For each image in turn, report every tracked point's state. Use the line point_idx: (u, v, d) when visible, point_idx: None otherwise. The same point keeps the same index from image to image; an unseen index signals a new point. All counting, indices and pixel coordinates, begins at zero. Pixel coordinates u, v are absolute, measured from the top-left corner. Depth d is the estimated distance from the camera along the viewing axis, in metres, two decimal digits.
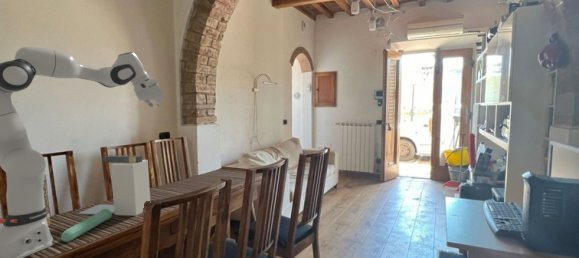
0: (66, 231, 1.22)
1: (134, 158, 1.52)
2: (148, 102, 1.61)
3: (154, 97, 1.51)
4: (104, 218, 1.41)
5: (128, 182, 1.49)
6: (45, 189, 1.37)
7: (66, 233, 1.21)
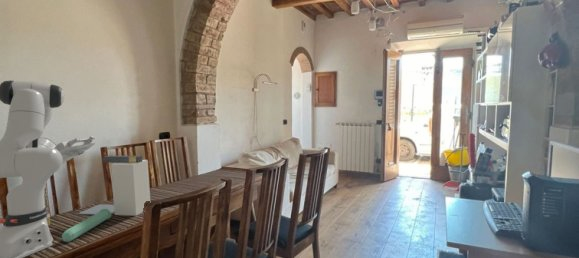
0: (67, 231, 1.22)
1: (134, 158, 1.52)
2: None
3: None
4: (104, 218, 1.41)
5: (128, 182, 1.49)
6: (45, 189, 1.37)
7: (67, 233, 1.21)
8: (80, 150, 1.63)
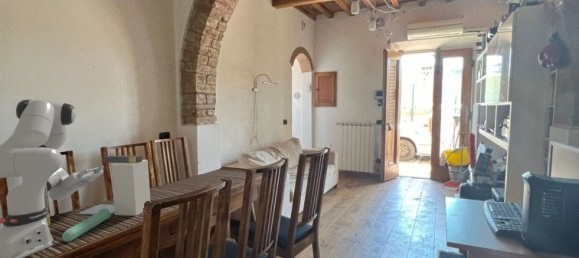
0: (67, 231, 1.22)
1: (134, 158, 1.52)
2: None
3: None
4: (103, 218, 1.41)
5: (128, 182, 1.49)
6: (45, 189, 1.37)
7: (67, 233, 1.21)
8: (89, 179, 1.64)
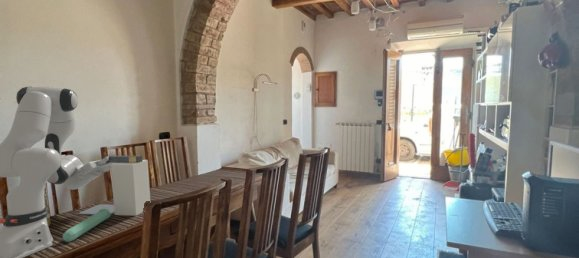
0: (68, 231, 1.22)
1: (134, 158, 1.52)
2: None
3: None
4: (103, 218, 1.41)
5: (128, 182, 1.49)
6: (45, 189, 1.37)
7: (68, 233, 1.21)
8: (105, 169, 1.62)
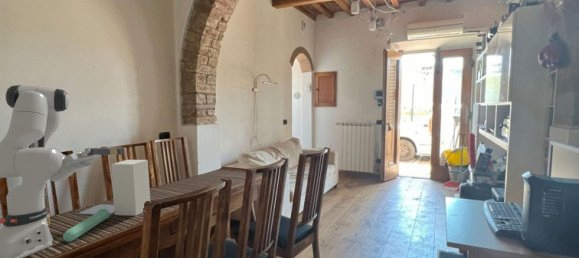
0: (68, 231, 1.22)
1: (115, 150, 1.53)
2: None
3: None
4: (103, 218, 1.41)
5: (128, 182, 1.49)
6: (45, 189, 1.37)
7: (68, 233, 1.21)
8: (87, 161, 1.63)
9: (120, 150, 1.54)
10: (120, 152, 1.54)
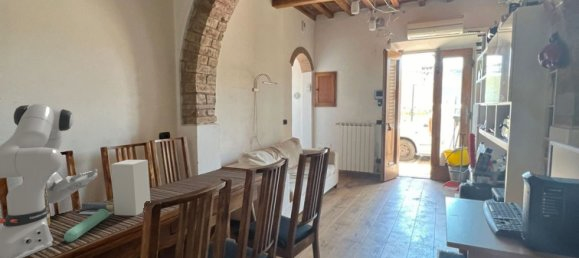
0: (69, 231, 1.22)
1: (111, 206, 1.56)
2: None
3: None
4: (102, 218, 1.41)
5: (128, 182, 1.49)
6: (45, 189, 1.37)
7: (70, 233, 1.21)
8: (83, 183, 1.65)
9: None
10: None
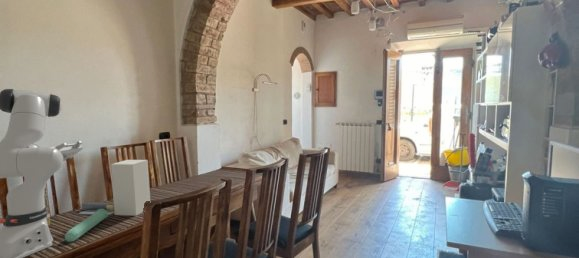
0: (70, 231, 1.22)
1: (111, 206, 1.56)
2: None
3: None
4: (101, 218, 1.42)
5: (128, 182, 1.49)
6: (45, 189, 1.37)
7: (71, 233, 1.21)
8: (68, 155, 1.65)
9: None
10: None
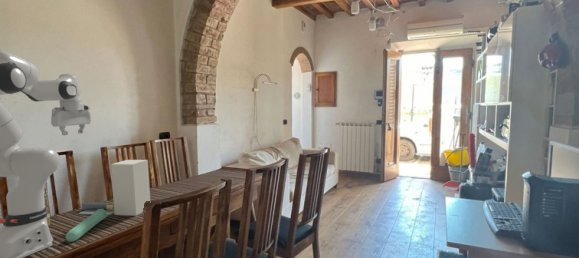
0: (71, 231, 1.22)
1: (111, 206, 1.56)
2: None
3: (86, 121, 1.60)
4: (101, 218, 1.42)
5: (128, 182, 1.49)
6: (45, 189, 1.37)
7: (72, 233, 1.21)
8: None
9: None
10: None
